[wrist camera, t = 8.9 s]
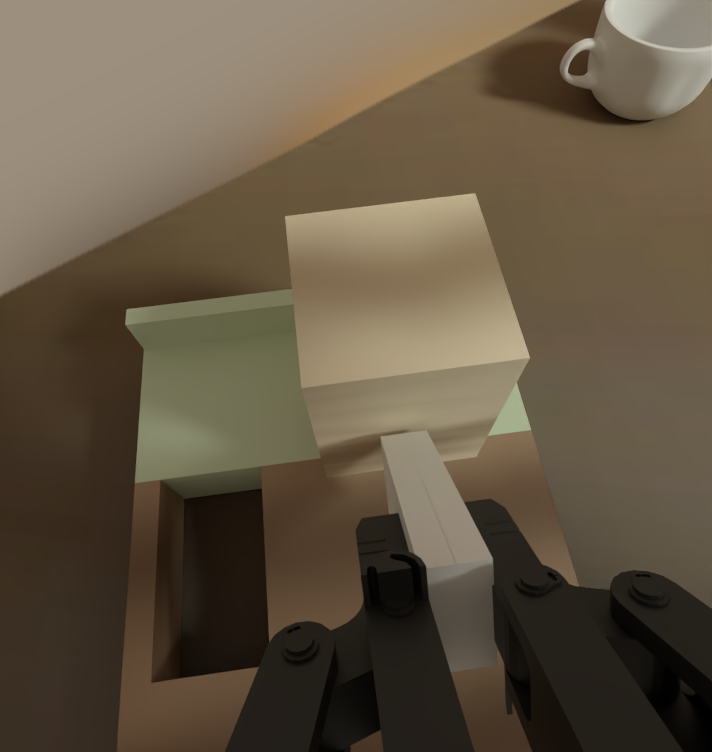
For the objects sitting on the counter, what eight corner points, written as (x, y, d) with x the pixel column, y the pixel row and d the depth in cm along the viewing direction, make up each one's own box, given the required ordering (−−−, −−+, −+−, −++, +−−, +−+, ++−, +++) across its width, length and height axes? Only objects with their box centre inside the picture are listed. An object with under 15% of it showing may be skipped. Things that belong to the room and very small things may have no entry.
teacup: (661, 57, 37) (703, -31, 32) (716, 127, 34) (773, 40, 29) (526, 77, 36) (549, -9, 32) (568, 151, 33) (601, 67, 28)
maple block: (476, 457, 21) (530, 357, 14) (326, 478, 20) (301, 388, 13) (444, 330, 23) (475, 193, 16) (312, 347, 23) (285, 216, 16)
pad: (513, 454, 24) (545, 409, 19) (162, 502, 23) (112, 467, 19) (477, 326, 27) (497, 263, 23) (167, 365, 27) (126, 309, 22)
